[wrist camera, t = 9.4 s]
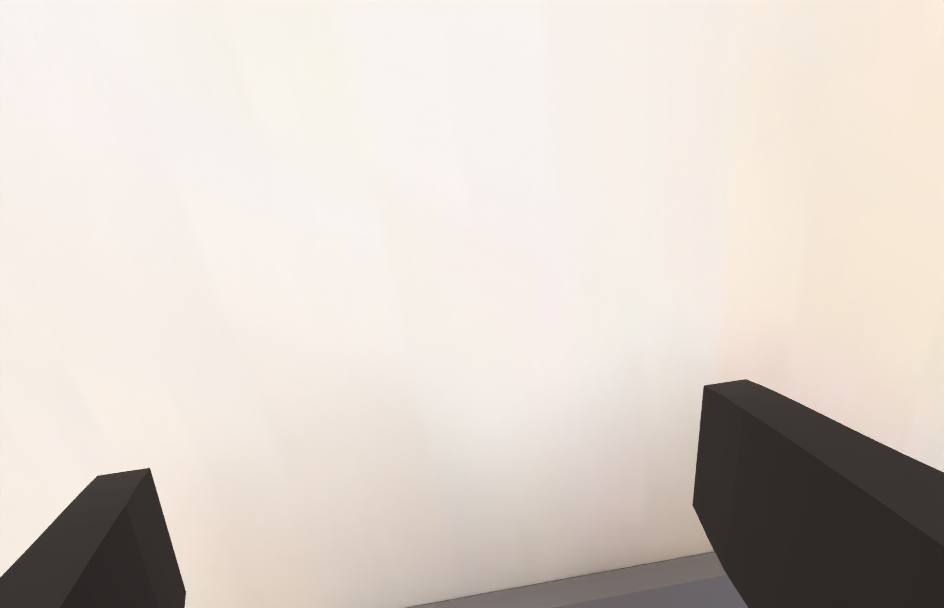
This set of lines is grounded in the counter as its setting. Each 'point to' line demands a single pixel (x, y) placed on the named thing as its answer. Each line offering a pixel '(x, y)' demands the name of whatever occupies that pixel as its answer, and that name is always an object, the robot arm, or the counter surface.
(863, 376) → the counter surface
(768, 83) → the counter surface
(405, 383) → the counter surface
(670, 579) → the mounting socket
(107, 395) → the counter surface
